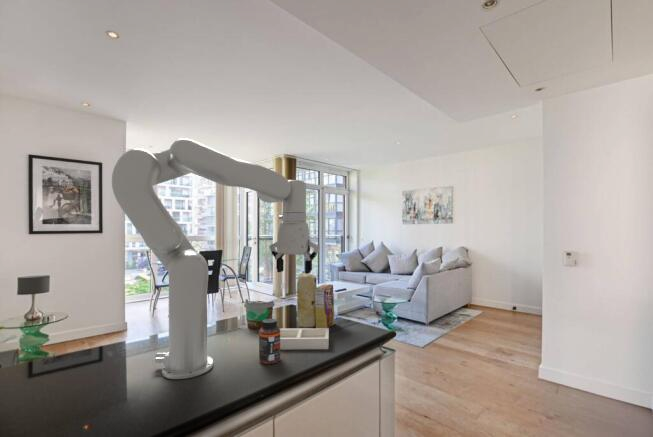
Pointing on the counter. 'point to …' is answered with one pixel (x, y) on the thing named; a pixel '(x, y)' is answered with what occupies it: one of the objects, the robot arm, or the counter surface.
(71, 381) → the counter surface
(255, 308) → the food container
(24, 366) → the counter surface
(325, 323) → the candy box
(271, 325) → the supplement bottle
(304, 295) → the food model
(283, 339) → the holder
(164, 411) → the counter surface
